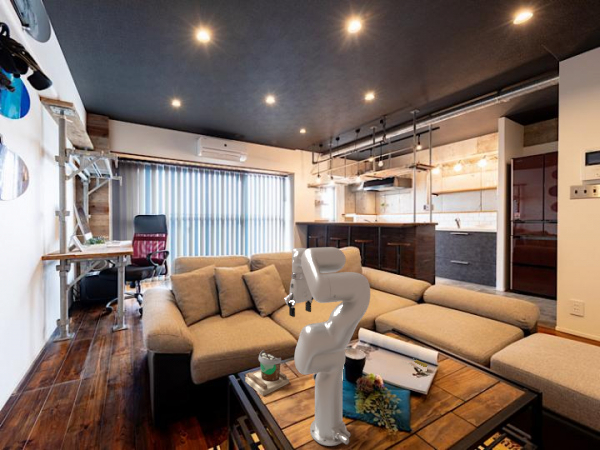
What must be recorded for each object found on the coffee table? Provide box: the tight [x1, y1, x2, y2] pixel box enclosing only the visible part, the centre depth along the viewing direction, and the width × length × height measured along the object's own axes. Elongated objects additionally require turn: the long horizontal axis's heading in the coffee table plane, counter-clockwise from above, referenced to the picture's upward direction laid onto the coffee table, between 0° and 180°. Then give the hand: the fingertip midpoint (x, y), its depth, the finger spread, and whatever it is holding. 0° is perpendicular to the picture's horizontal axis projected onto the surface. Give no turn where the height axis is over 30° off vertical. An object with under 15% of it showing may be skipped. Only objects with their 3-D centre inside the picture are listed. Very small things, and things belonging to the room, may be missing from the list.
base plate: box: [244, 370, 290, 397], centre depth 124 cm, size 14×14×4 cm
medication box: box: [414, 359, 429, 367], centre depth 135 cm, size 12×3×4 cm, turn 35°
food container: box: [258, 349, 282, 381], centre depth 123 cm, size 12×6×10 cm, turn 47°
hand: (300, 313), depth 125 cm, fingers open, 9 cm apart
